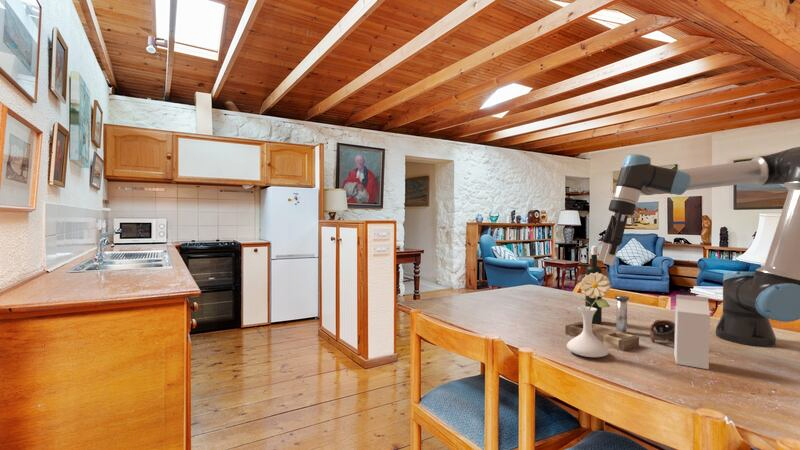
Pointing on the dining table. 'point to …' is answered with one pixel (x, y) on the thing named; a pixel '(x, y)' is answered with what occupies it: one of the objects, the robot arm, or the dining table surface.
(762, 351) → the dining table surface
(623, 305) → the steel pin
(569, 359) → the dining table surface
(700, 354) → the milk carton
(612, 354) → the dining table surface
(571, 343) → the flower in vase
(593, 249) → the wine bottle
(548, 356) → the dining table surface
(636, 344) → the wooden compartment tray
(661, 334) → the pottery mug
